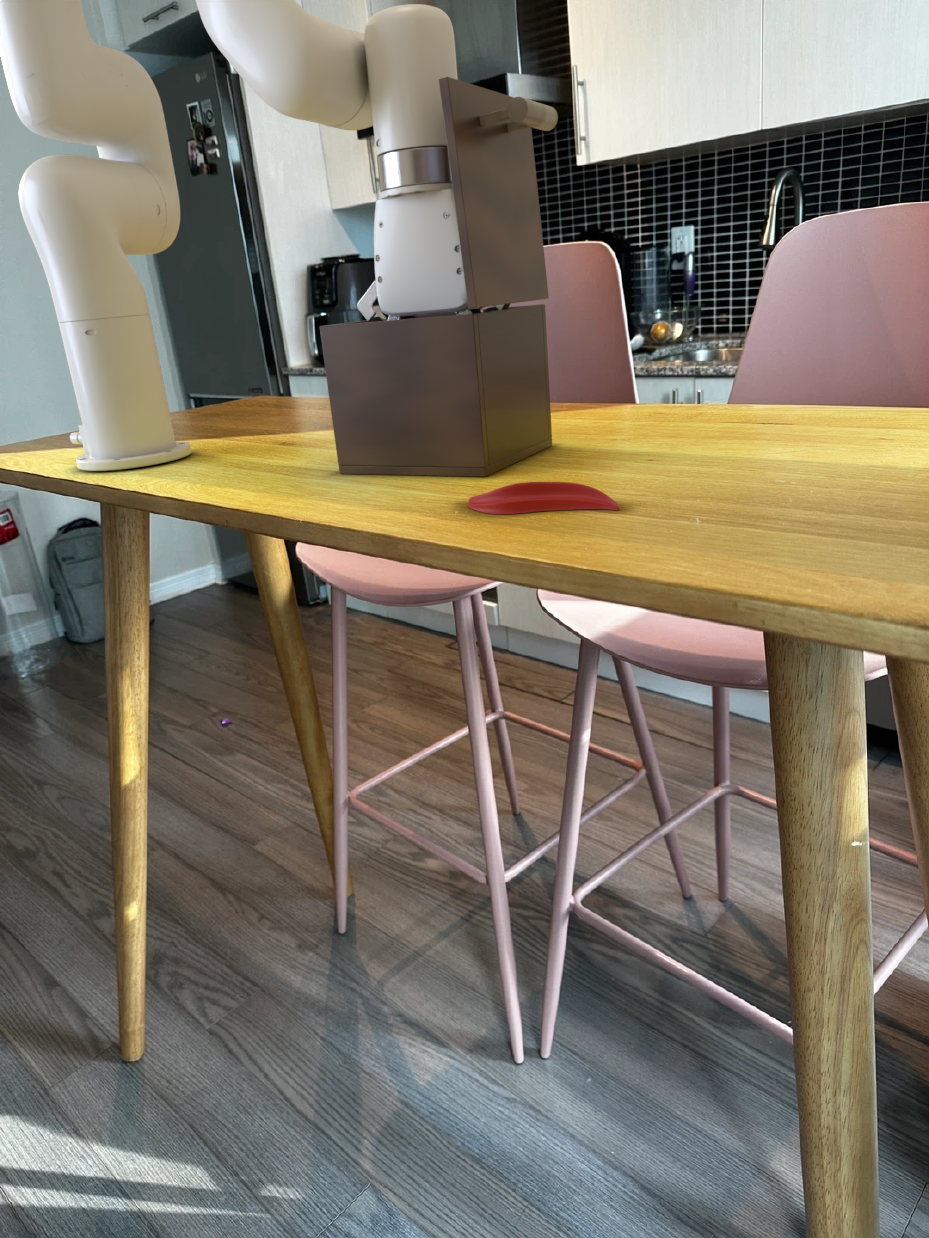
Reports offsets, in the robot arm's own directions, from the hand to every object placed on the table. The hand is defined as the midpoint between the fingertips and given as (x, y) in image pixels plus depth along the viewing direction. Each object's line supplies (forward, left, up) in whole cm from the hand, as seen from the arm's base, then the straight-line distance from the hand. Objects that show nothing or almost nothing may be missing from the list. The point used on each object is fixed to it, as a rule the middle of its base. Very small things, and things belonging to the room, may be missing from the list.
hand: (441, 385), depth 83 cm
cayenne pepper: (+17, -17, -7) cm, 25 cm away
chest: (0, 0, -7) cm, 7 cm away
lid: (+7, 0, +15) cm, 16 cm away
